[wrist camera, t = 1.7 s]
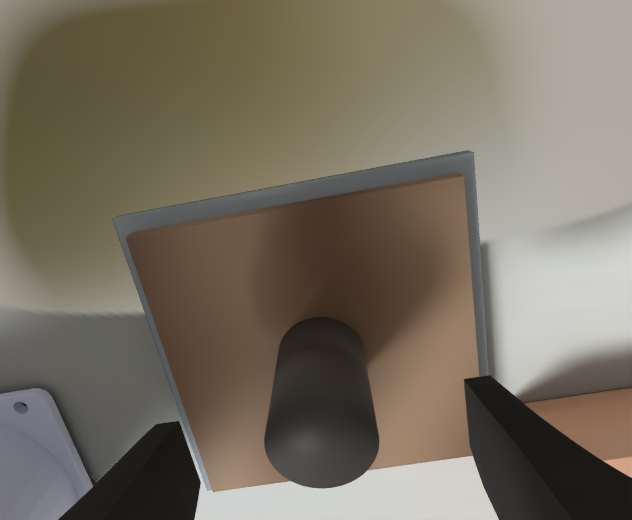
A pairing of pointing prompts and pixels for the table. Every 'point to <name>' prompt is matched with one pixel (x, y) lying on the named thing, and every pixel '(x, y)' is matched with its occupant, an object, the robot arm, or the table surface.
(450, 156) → the mat
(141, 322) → the table surface
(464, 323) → the lid
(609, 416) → the open box
